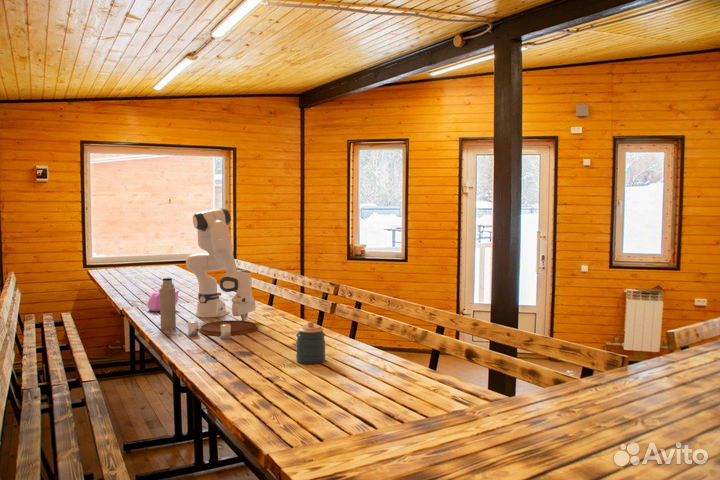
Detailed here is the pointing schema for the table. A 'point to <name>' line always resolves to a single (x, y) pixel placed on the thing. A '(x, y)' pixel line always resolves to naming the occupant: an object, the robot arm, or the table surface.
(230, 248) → the robot arm
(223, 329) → the bench dogs
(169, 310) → the thermos bottle
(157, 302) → the teapot
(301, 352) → the canister
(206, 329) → the cutting board
